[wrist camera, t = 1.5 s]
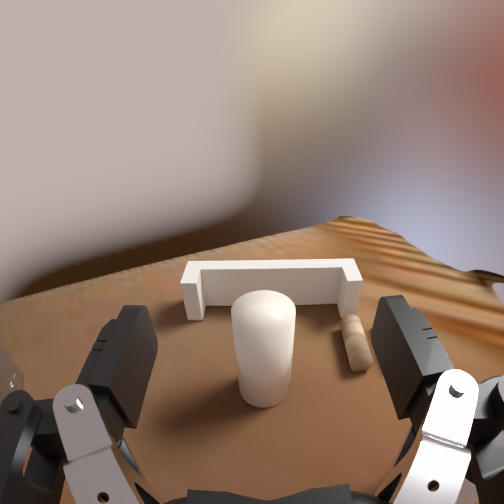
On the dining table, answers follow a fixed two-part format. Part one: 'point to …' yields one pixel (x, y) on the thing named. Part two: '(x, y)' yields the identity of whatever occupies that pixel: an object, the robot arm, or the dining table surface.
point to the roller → (355, 343)
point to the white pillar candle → (263, 346)
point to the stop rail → (271, 283)
